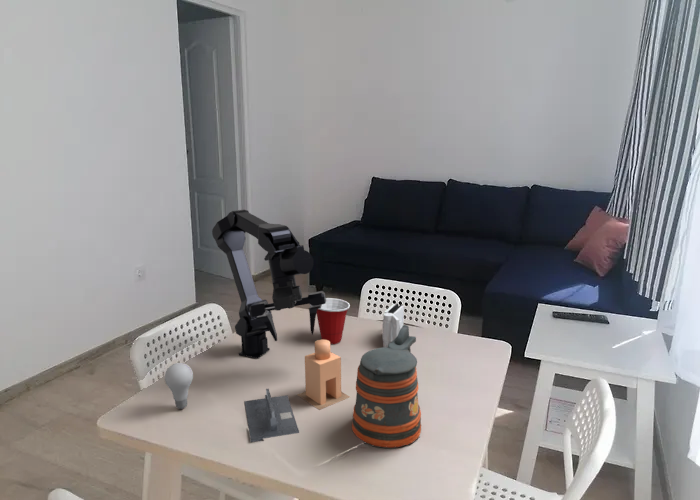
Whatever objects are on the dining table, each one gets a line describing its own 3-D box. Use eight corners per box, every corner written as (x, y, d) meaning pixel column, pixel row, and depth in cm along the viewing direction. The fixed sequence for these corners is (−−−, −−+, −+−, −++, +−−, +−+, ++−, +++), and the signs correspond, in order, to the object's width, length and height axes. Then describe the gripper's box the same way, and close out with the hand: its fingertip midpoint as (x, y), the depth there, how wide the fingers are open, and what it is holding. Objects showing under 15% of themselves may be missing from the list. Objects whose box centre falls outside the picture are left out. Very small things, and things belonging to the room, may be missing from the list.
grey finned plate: (244, 403, 122) (243, 383, 121) (287, 397, 125) (286, 377, 124) (250, 442, 107) (249, 420, 106) (299, 434, 110) (298, 412, 109)
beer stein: (372, 396, 125) (373, 317, 120) (433, 408, 120) (436, 325, 115) (341, 439, 108) (340, 349, 103) (410, 456, 103) (413, 361, 98)
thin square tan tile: (297, 396, 125) (296, 394, 125) (327, 384, 131) (327, 382, 131) (319, 411, 118) (319, 409, 118) (350, 398, 124) (350, 396, 124)
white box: (399, 353, 148) (399, 320, 146) (380, 352, 149) (380, 319, 147) (404, 335, 162) (404, 303, 159) (386, 333, 163) (386, 302, 160)
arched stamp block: (305, 395, 125) (304, 341, 122) (326, 387, 129) (325, 335, 125) (320, 405, 120) (319, 350, 117) (341, 396, 124) (340, 343, 121)
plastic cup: (350, 348, 152) (349, 309, 149) (312, 348, 152) (311, 309, 149) (350, 333, 163) (350, 296, 160) (315, 333, 163) (314, 296, 160)
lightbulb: (170, 418, 116) (165, 372, 114) (165, 405, 122) (161, 361, 119) (198, 411, 119) (194, 366, 116) (192, 399, 124) (189, 356, 122)
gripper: (239, 286, 123) (251, 351, 124) (318, 271, 123) (330, 337, 123) (248, 282, 134) (259, 341, 135) (320, 268, 134) (331, 328, 135)
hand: (294, 337), depth 132 cm, fingers open, 9 cm apart
